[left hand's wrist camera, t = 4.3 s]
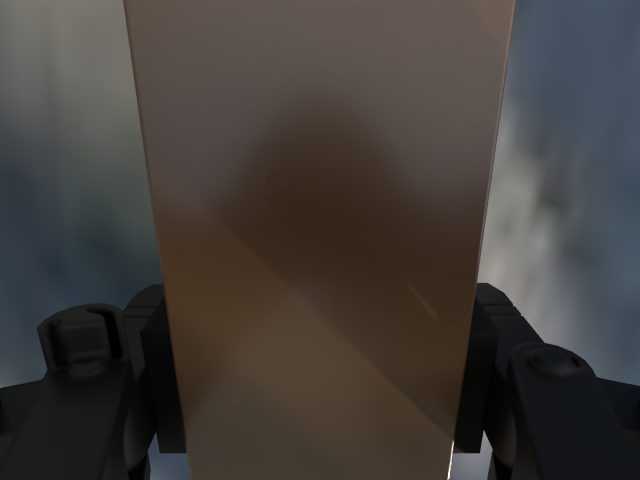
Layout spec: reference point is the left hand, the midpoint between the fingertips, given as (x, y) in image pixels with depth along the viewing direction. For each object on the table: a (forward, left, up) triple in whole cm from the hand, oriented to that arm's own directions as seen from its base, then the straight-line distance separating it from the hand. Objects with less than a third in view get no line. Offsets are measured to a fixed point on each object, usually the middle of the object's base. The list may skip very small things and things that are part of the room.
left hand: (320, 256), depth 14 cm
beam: (+22, 0, -1) cm, 22 cm away
